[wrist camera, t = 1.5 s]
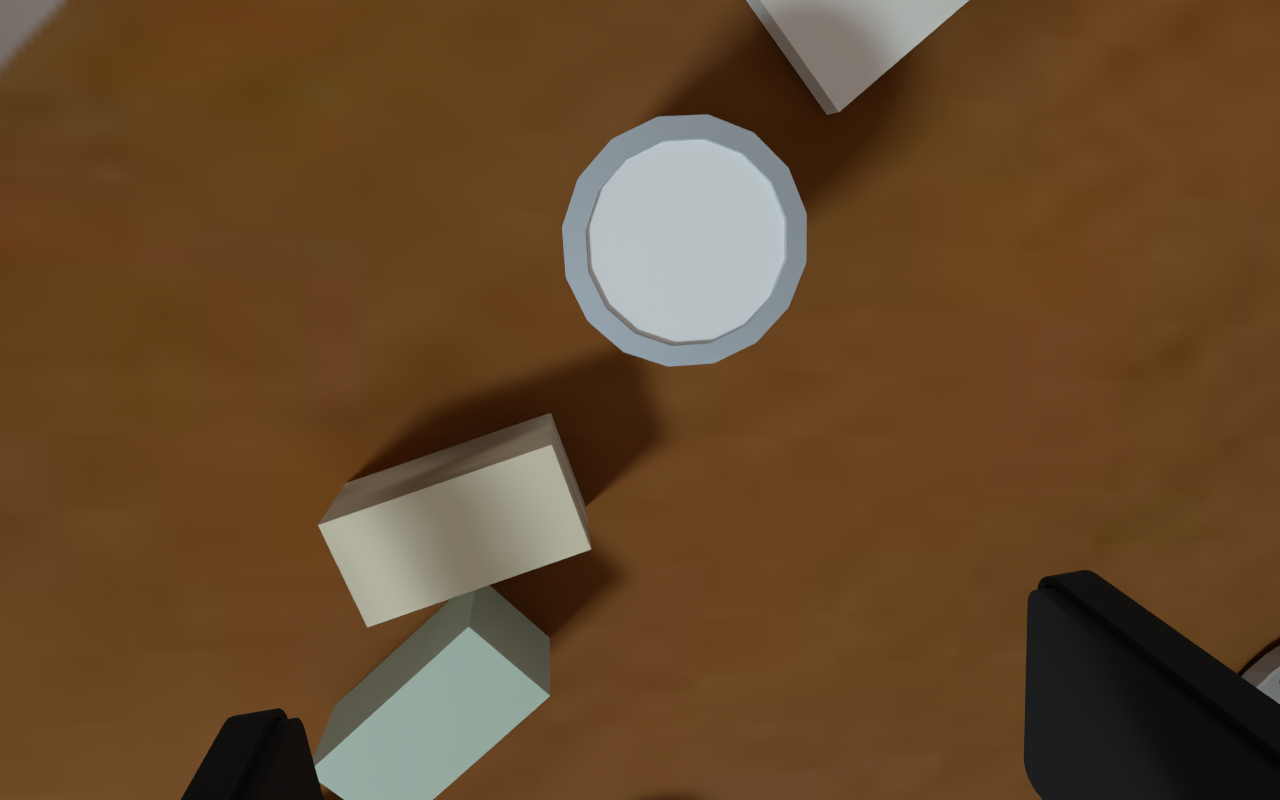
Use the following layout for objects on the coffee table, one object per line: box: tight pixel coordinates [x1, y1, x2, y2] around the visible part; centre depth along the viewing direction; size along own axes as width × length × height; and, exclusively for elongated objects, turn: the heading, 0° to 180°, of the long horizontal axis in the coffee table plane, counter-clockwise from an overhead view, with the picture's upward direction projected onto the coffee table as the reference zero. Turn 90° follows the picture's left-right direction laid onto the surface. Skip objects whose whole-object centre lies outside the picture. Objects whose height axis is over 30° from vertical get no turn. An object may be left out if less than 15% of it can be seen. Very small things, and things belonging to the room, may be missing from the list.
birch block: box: [318, 413, 591, 627], centre depth 29 cm, size 8×4×4 cm, turn 108°
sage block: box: [313, 585, 550, 800], centre depth 31 cm, size 8×4×4 cm, turn 132°
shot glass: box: [562, 114, 807, 366], centre depth 25 cm, size 7×7×7 cm
